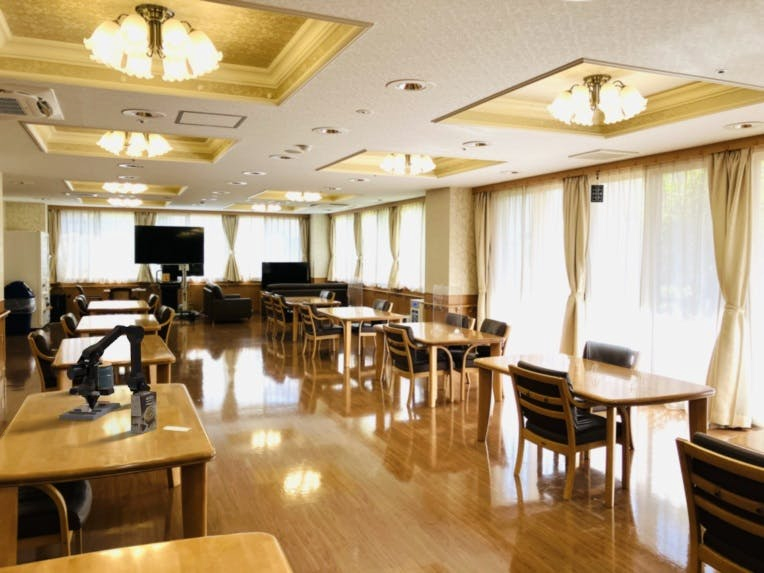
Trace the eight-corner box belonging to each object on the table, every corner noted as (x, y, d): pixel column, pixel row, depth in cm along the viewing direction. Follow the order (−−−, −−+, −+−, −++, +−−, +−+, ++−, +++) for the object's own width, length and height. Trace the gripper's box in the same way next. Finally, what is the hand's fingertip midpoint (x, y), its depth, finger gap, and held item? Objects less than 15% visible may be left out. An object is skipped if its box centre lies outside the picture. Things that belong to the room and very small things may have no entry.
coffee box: (142, 434, 247) (142, 396, 246) (130, 432, 249) (129, 394, 248) (157, 428, 255) (157, 391, 254) (145, 426, 257) (145, 390, 256)
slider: (91, 411, 272) (91, 404, 272) (87, 412, 269) (87, 405, 269) (85, 410, 272) (85, 403, 272) (81, 412, 269) (81, 405, 269)
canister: (118, 387, 327) (118, 356, 326) (105, 393, 314) (104, 360, 313) (96, 386, 328) (95, 355, 327) (82, 392, 315) (81, 359, 314)
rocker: (109, 403, 285) (109, 401, 286) (101, 403, 279) (102, 400, 279) (101, 403, 286) (101, 400, 286) (93, 403, 279) (94, 400, 279)
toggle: (89, 401, 284) (86, 393, 283) (87, 402, 282) (84, 394, 282) (87, 402, 284) (83, 394, 284) (85, 403, 282) (81, 395, 282)
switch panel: (120, 407, 287) (119, 401, 287) (93, 420, 265) (93, 414, 264) (88, 405, 289) (88, 400, 289) (59, 419, 266) (59, 413, 266)
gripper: (61, 379, 262) (62, 413, 263) (101, 380, 260) (102, 414, 261) (75, 373, 273) (76, 406, 274) (114, 374, 272) (115, 408, 273)
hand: (92, 409), depth 270 cm, fingers closed
